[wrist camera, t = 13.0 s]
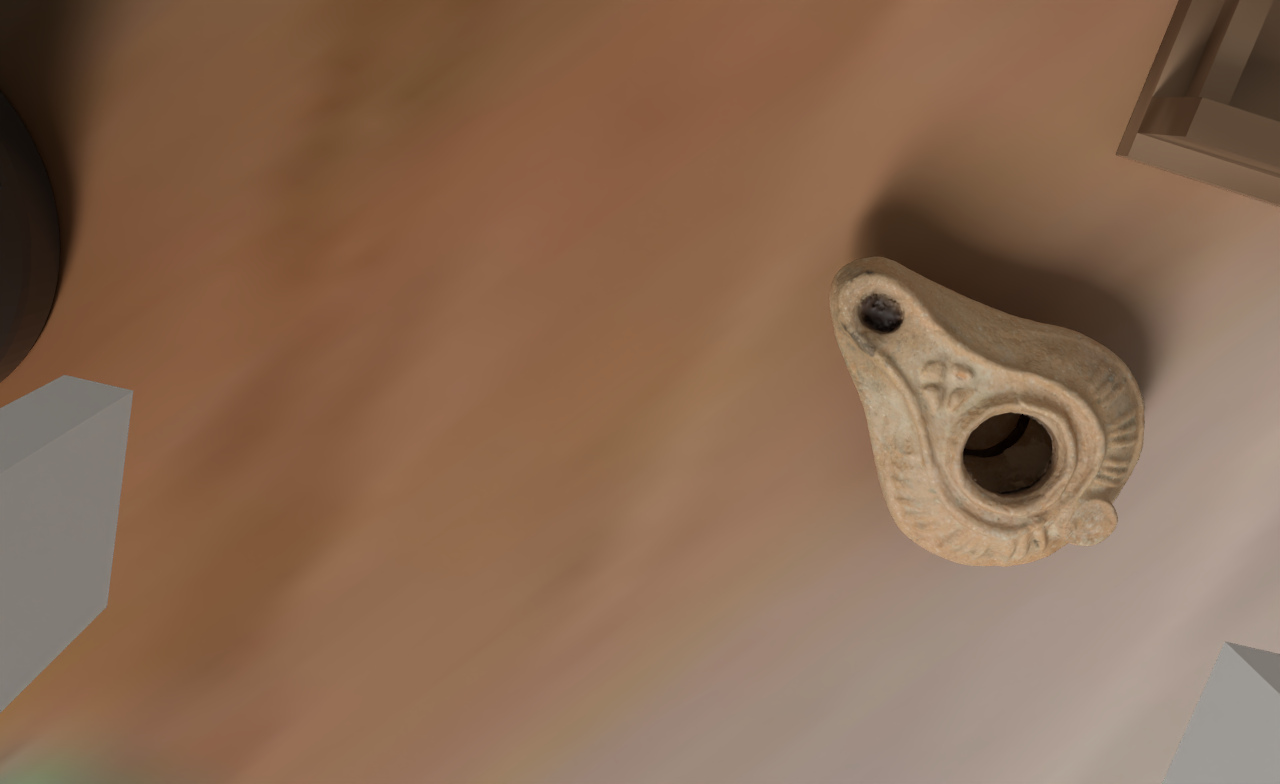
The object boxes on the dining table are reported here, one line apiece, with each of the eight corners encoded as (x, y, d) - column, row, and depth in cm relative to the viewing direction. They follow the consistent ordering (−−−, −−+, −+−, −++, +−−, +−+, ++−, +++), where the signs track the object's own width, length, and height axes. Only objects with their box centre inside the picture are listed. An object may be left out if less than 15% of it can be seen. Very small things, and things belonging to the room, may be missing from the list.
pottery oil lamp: (918, 170, 37) (1084, 197, 31) (1042, 400, 43) (1200, 459, 37) (742, 346, 36) (880, 409, 30) (895, 558, 42) (1036, 645, 36)
